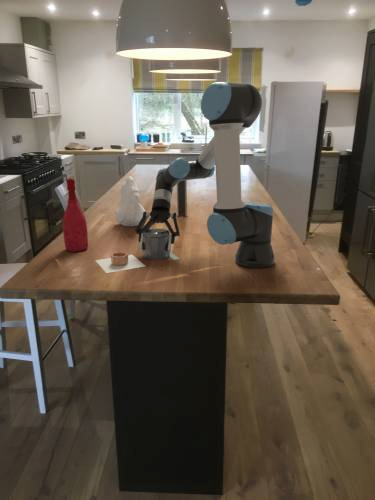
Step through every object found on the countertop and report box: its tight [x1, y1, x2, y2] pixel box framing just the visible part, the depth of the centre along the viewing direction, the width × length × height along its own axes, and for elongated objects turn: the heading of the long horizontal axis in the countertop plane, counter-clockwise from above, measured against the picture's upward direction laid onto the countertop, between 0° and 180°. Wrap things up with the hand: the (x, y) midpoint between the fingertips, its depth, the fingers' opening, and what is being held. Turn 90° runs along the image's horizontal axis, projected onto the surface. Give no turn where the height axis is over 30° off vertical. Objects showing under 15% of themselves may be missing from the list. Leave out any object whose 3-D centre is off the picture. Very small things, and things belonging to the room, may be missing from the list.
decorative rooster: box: [115, 175, 147, 227], centre depth 204 cm, size 25×16×25 cm, turn 7°
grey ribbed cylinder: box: [142, 228, 171, 261], centre depth 161 cm, size 10×10×10 cm
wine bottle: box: [62, 178, 89, 253], centre depth 169 cm, size 10×10×30 cm
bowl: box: [110, 251, 129, 266], centre depth 153 cm, size 6×6×4 cm
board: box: [94, 254, 146, 274], centre depth 154 cm, size 15×15×1 cm
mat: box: [169, 251, 181, 261], centre depth 163 cm, size 14×14×1 cm
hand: (155, 250), depth 159 cm, fingers closed on grey ribbed cylinder, 11 cm apart
